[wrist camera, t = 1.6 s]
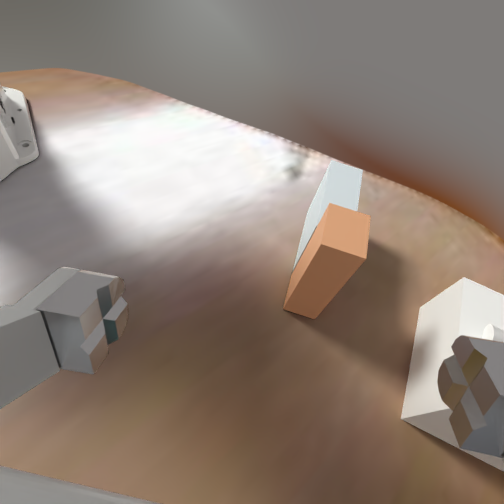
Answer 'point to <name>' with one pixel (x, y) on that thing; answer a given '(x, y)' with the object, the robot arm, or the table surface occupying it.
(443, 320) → the tissue box
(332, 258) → the block
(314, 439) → the table surface
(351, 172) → the pale gray chunky brick
